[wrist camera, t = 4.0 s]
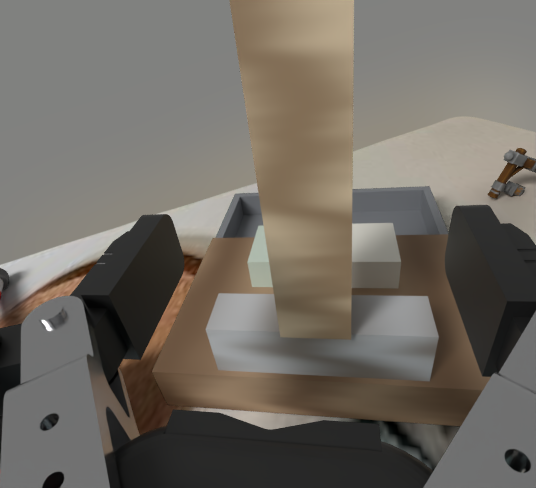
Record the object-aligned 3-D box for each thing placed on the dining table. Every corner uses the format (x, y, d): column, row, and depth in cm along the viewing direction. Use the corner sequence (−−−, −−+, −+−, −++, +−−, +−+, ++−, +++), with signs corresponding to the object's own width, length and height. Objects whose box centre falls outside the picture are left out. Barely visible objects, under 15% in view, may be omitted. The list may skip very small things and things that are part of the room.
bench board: (444, 268, 28) (451, 234, 26) (501, 429, 18) (517, 392, 16) (220, 268, 31) (212, 237, 29) (167, 404, 21) (151, 371, 20)
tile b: (318, 248, 26) (317, 224, 25) (316, 287, 23) (314, 261, 22) (262, 249, 27) (258, 225, 26) (252, 287, 24) (247, 262, 23)
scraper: (419, 335, 19) (483, -67, 10) (430, 387, 17) (528, -76, 8) (230, 329, 21) (141, -15, 12) (216, 375, 19) (93, -10, 10)
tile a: (390, 248, 25) (392, 222, 24) (398, 288, 22) (401, 261, 21) (330, 248, 26) (329, 224, 25) (329, 287, 23) (328, 261, 22)
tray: (425, 211, 34) (429, 186, 33) (446, 268, 28) (451, 240, 26) (239, 216, 37) (235, 193, 36) (219, 268, 31) (212, 243, 29)
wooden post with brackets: (475, 190, 34) (503, 142, 32) (533, 202, 37) (562, 159, 35) (490, 199, 33) (520, 149, 31) (549, 211, 36) (580, 166, 34)
